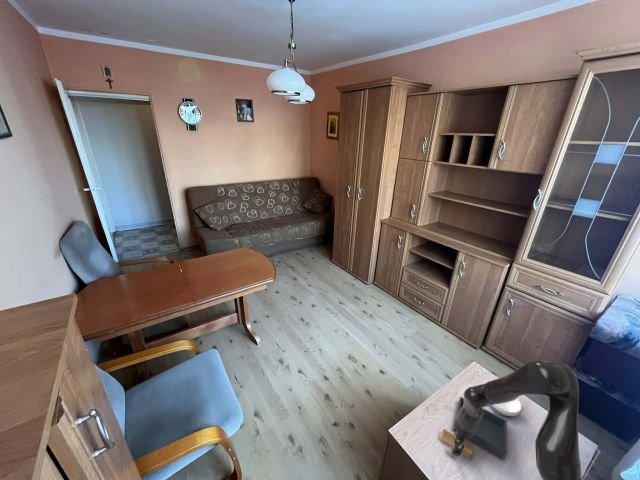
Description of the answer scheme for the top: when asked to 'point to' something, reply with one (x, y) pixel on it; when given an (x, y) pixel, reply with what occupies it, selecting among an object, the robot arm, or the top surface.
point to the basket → (489, 432)
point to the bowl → (507, 408)
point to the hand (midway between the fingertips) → (455, 444)
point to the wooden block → (449, 440)
